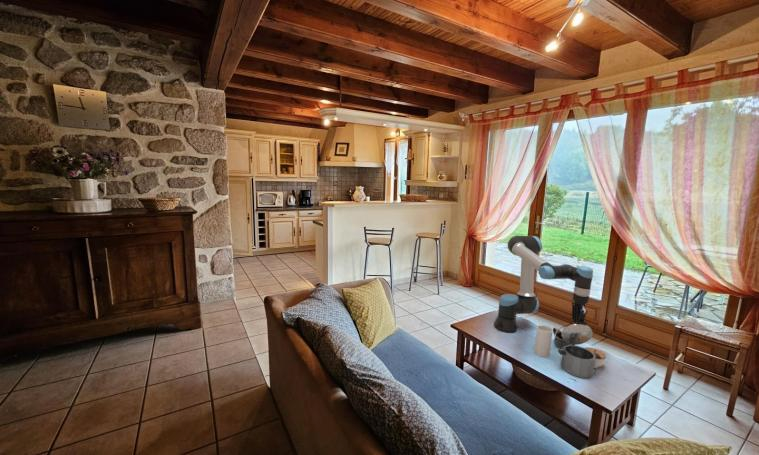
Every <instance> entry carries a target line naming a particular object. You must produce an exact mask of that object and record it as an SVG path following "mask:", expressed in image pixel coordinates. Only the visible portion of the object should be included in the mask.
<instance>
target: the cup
mask: <svg viewBox="0 0 759 455" xmlns="http://www.w3.org/2000/svg"><path fill="white" fill-rule="evenodd" d="M553 334H554V333H553V328H551V327H550V326H547V325H543V324H542V325H541V324H540V325H538V326H537V327H536V334H535V341H534V346H533V347H534V350H533V353H534V354H535V355H536V356H539V357H540V358H541V357H542V358H549V357H550V353H551V352H550V351H551V346H552V345H551V344H552V340H553Z"/></svg>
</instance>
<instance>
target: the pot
mask: <svg viewBox="0 0 759 455" xmlns="http://www.w3.org/2000/svg"><path fill="white" fill-rule="evenodd" d="M557 353H558V354H559V355H560V356H561V362H560V367H561V369H562V371H565V372H566V373H567V374H568V375H571V376H573V377H575V378H580V379H591V378H593V375H594V369H595V368H594V364H595V358H596V359H601V357H600V356H599V355H598V354H595V353H593V352H591V351H589V350H587V349H586V347H583V346H579V345H573V344H569V345H566V346H564V348H562V349H557Z"/></svg>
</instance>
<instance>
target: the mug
mask: <svg viewBox="0 0 759 455" xmlns="http://www.w3.org/2000/svg"><path fill="white" fill-rule="evenodd" d="M552 330H553V333H552V334H553V335H554V340H553V341H554V344H555V345H556V346H557V347H559V348H562V349H563V348H564V346H566V345H569V343H566V342H565V341H564V340H563V338H562V330H561V329H560V328H559V327H557V326H555V327H553V328H552Z"/></svg>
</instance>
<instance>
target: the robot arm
mask: <svg viewBox="0 0 759 455" xmlns="http://www.w3.org/2000/svg"><path fill="white" fill-rule="evenodd" d="M507 249H508V251H509V252H510V253H511V254H512V255H514V256H516V257H517V256H518V257H519V258H520V278H519V279H520V281H519V291H518V292H516V293H517V294H513V293H504V294H502V295H501V296H500V298H499V301H498V312H497V317H496V318H495V320H494V324H493V328H495V329H496V330H498V331H500V332H503V333H507V334H514V333H517V332H518V323H517V315H523V314H525V315H526V314H528V315H529V314H534V313H537V311H538V310H539V308H540V301H539V298H538V297H537V296H536V294H535V293H534V286H535V285H534V283H535V270H536V271H537V272H538V275H539V277H540V278H541V279H542V280H543V279H544V280H566V279H567V280H571V281H574V287H573V294H572V300H573V301H572V302H571V319H572V321H573V324H576V321H577V320H578V321H585V319H586V315H587V314H588V310H586V304H588V303H589V301H590V295H591V287H592V281H593V277H594V269H593V268H591V267H590V266H584V265H579V266H577V267H576V266H573V265H570V264H567V263H562V264H560V265H553V264H552V263H550V262H548V261H547V260H546V259H544V258H542V257H540V255H538V254H539V253H541V252H542V250H543V243H542V241H541V239H540V238H539V237H538V236H534V235H514V236H512V237H511V238H510V239H509V240H508V242H507Z"/></svg>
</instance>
